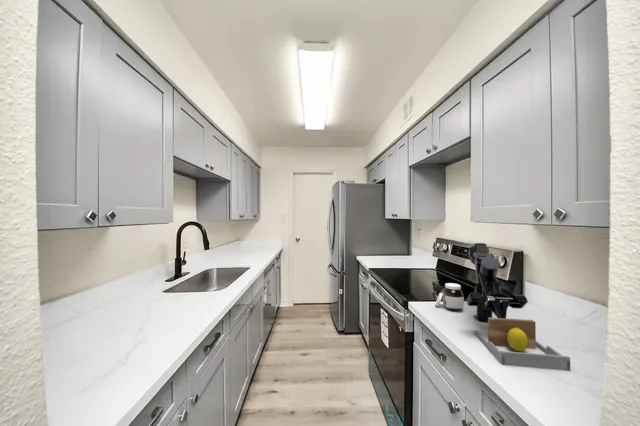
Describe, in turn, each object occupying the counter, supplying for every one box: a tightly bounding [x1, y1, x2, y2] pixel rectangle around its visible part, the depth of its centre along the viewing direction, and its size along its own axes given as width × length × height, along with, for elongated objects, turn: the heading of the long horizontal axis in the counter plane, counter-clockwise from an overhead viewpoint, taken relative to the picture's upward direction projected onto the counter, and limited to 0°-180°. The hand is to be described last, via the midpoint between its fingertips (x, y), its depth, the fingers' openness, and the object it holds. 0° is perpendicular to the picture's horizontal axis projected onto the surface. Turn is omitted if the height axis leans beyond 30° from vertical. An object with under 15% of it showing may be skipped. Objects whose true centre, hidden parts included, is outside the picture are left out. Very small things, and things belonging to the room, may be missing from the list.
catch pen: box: [473, 330, 571, 371], centre depth 89 cm, size 21×18×4 cm
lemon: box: [507, 328, 528, 352], centre depth 88 cm, size 6×6×8 cm
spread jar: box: [435, 282, 465, 312], centre depth 129 cm, size 12×11×12 cm
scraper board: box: [487, 317, 537, 350], centre depth 91 cm, size 2×14×9 cm, turn 80°
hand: (503, 323), depth 93 cm, fingers closed, pressing on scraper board
